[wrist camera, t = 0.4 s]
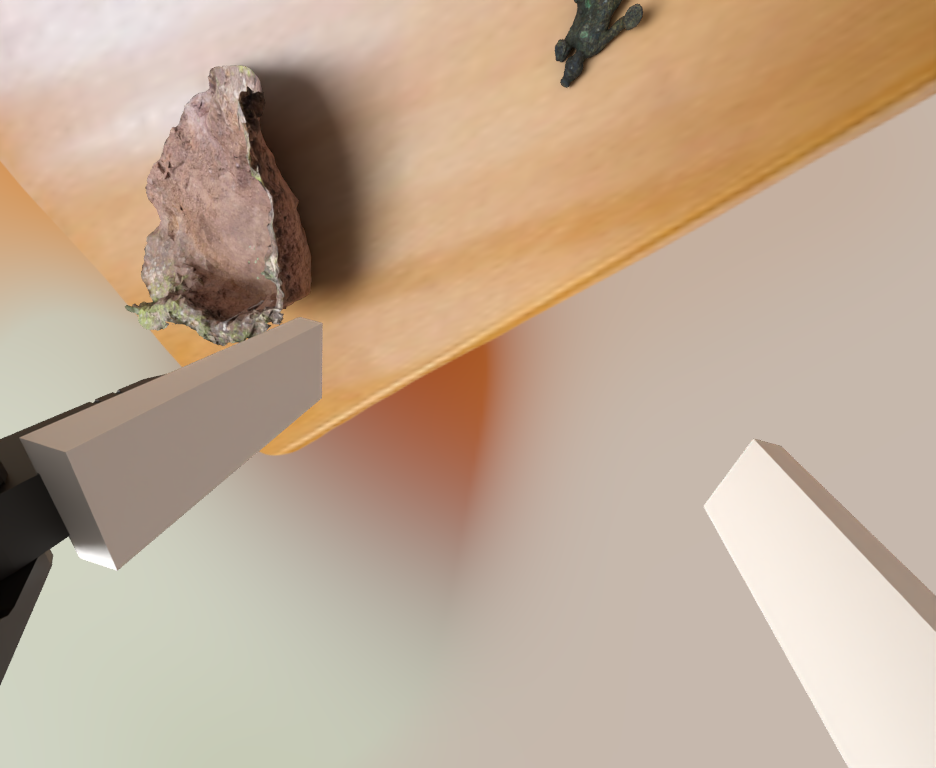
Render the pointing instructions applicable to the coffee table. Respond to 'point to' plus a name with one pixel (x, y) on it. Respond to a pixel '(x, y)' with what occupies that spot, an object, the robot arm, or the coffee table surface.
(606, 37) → the figurine
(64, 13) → the coffee table surface
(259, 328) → the rock
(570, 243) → the coffee table surface
